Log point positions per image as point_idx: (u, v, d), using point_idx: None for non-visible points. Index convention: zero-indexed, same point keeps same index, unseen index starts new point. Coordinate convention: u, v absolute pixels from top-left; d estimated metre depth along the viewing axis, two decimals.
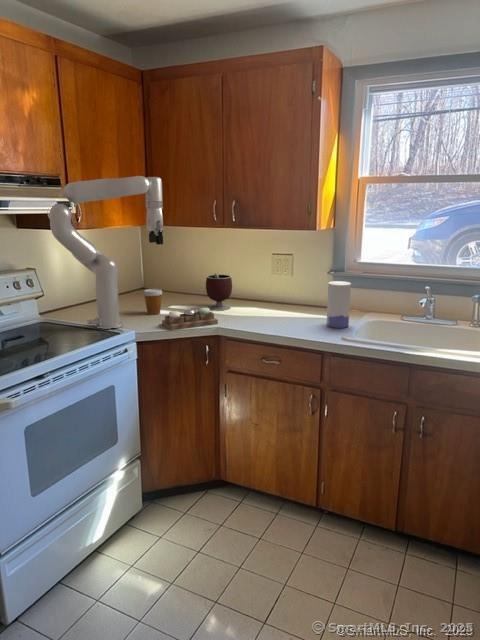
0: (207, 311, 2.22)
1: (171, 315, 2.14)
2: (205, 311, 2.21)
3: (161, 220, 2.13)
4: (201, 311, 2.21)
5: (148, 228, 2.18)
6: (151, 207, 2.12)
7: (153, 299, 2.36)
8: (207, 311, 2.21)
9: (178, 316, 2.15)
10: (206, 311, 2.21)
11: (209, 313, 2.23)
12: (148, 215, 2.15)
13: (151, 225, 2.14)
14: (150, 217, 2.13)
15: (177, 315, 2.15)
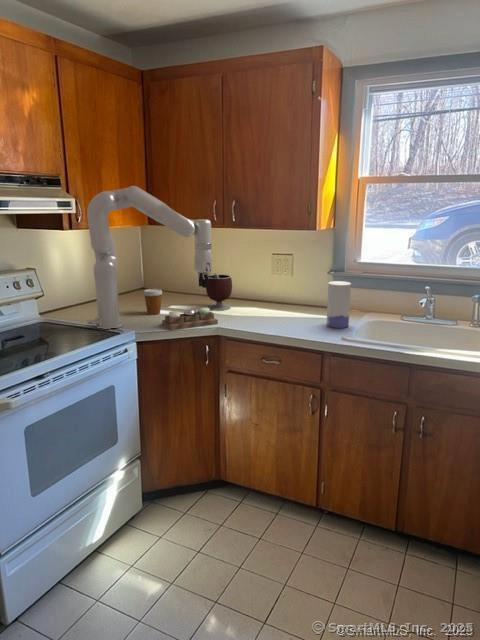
0: (207, 311, 2.22)
1: (171, 315, 2.14)
2: (205, 311, 2.21)
3: (210, 262, 2.14)
4: (201, 311, 2.21)
5: (196, 269, 2.19)
6: (201, 249, 2.13)
7: (153, 299, 2.36)
8: (207, 311, 2.21)
9: (178, 316, 2.15)
10: (206, 311, 2.21)
11: (209, 313, 2.23)
12: (197, 257, 2.16)
13: (200, 267, 2.15)
14: (199, 259, 2.14)
15: (177, 315, 2.15)
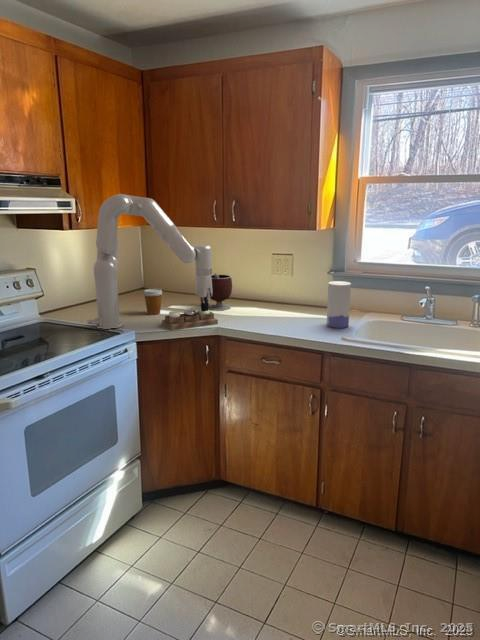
0: (207, 313, 2.22)
1: (171, 315, 2.14)
2: (205, 313, 2.21)
3: (211, 287, 2.17)
4: (201, 313, 2.22)
5: (197, 294, 2.22)
6: (201, 275, 2.16)
7: (153, 299, 2.36)
8: (207, 312, 2.22)
9: (178, 316, 2.15)
10: (206, 313, 2.22)
11: None
12: (197, 281, 2.19)
13: (201, 292, 2.17)
14: (200, 284, 2.17)
15: (177, 315, 2.15)
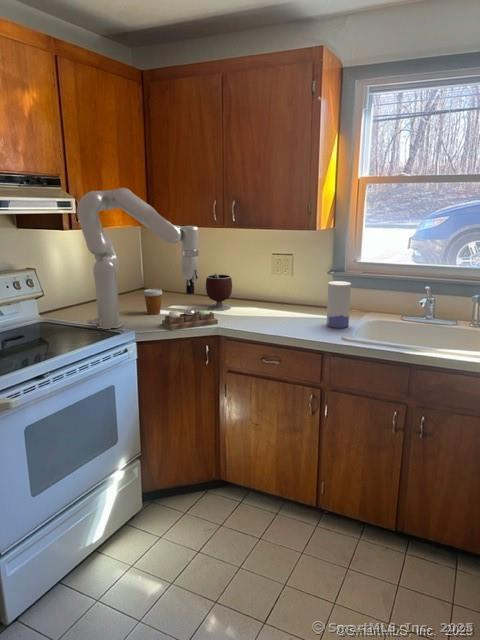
0: None
1: (171, 315, 2.14)
2: None
3: (197, 269, 2.12)
4: (201, 314, 2.22)
5: (183, 276, 2.16)
6: (187, 256, 2.10)
7: (153, 299, 2.36)
8: None
9: (178, 316, 2.15)
10: None
11: None
12: (183, 263, 2.14)
13: (187, 274, 2.12)
14: (186, 266, 2.12)
15: (177, 315, 2.15)
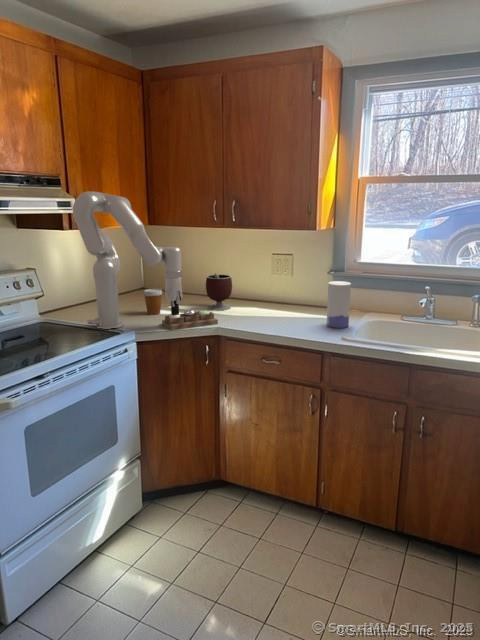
0: None
1: (171, 317, 2.15)
2: None
3: (180, 290, 2.10)
4: (201, 314, 2.22)
5: (167, 297, 2.15)
6: (170, 278, 2.09)
7: (153, 299, 2.36)
8: None
9: None
10: None
11: None
12: (167, 285, 2.12)
13: (170, 295, 2.10)
14: (169, 287, 2.10)
15: (177, 317, 2.15)
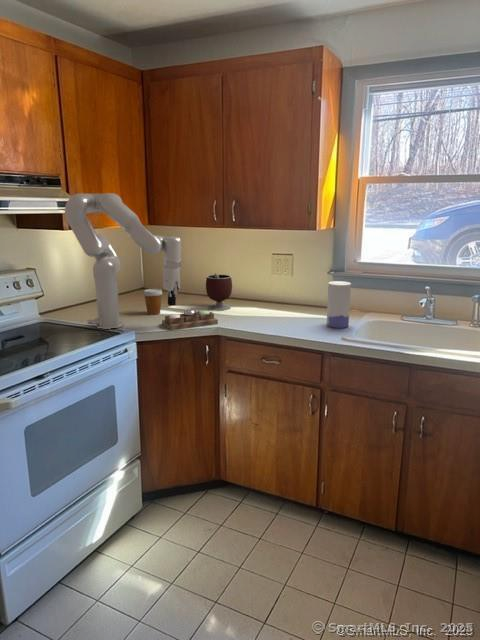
0: None
1: (171, 318, 2.15)
2: None
3: (178, 281, 2.09)
4: (201, 314, 2.22)
5: (164, 287, 2.13)
6: (169, 267, 2.07)
7: (153, 299, 2.36)
8: None
9: None
10: None
11: None
12: (165, 274, 2.11)
13: (168, 285, 2.09)
14: (167, 277, 2.09)
15: None
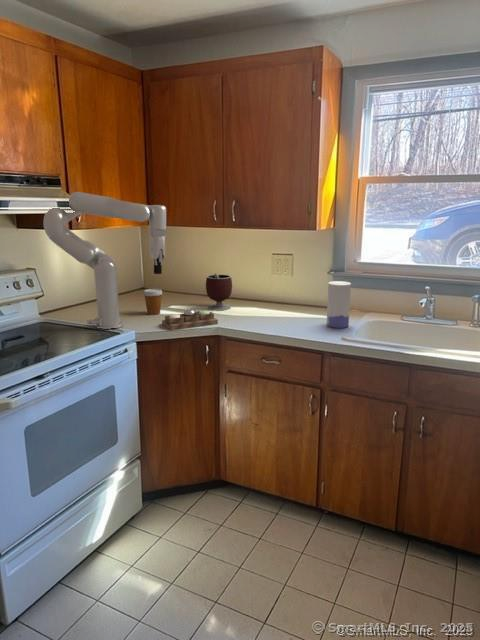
0: None
1: (171, 318, 2.15)
2: None
3: (163, 248, 2.11)
4: (201, 314, 2.22)
5: (150, 255, 2.16)
6: (154, 235, 2.10)
7: (153, 299, 2.36)
8: None
9: None
10: None
11: None
12: (151, 243, 2.14)
13: (153, 253, 2.12)
14: (153, 245, 2.12)
15: None
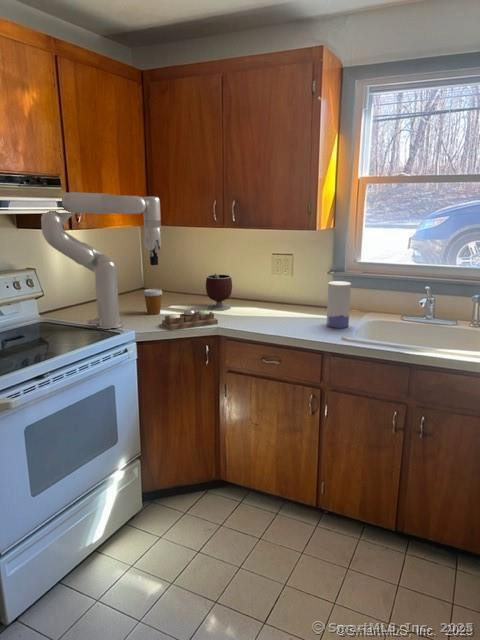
0: None
1: (171, 318, 2.15)
2: None
3: (159, 239, 2.13)
4: (201, 314, 2.22)
5: (146, 247, 2.17)
6: (149, 226, 2.11)
7: (153, 299, 2.36)
8: None
9: None
10: None
11: None
12: (146, 234, 2.15)
13: (149, 244, 2.13)
14: (148, 236, 2.13)
15: None
